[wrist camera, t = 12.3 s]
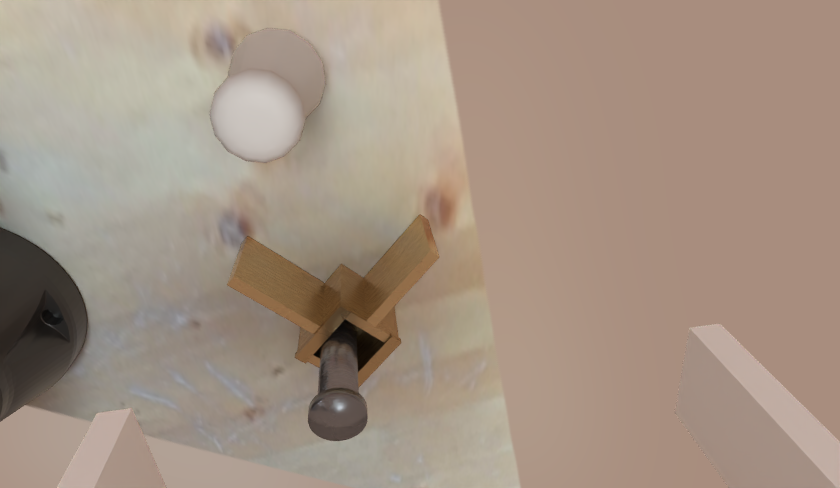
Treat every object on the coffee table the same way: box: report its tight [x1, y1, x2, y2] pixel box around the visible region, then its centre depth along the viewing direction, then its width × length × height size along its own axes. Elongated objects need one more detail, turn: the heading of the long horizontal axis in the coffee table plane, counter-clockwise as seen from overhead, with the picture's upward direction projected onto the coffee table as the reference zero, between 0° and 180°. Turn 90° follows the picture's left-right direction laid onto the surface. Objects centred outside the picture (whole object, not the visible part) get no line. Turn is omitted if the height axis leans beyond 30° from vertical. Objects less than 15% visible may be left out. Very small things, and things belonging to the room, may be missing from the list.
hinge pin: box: [308, 319, 367, 441], centre depth 40 cm, size 4×4×13 cm
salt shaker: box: [210, 28, 326, 163], centre depth 31 cm, size 6×6×13 cm
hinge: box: [227, 215, 439, 388], centre depth 41 cm, size 12×12×6 cm
